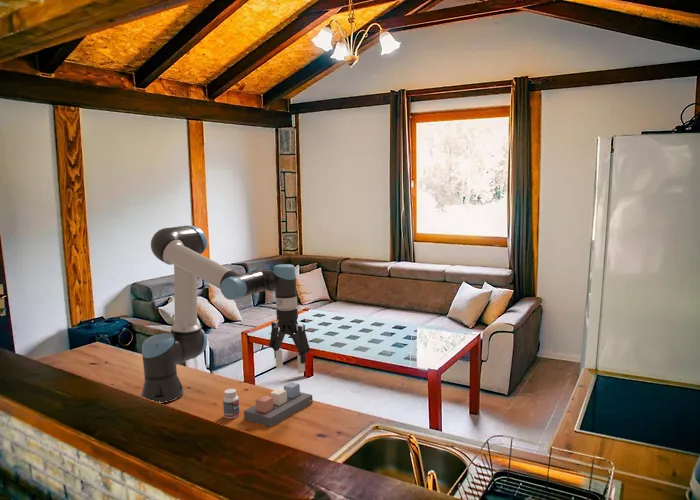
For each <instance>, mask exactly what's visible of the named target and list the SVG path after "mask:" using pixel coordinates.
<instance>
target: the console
mask: <svg viewBox="0 0 700 500" xmlns="http://www.w3.org/2000/svg"><path fill="white" fill-rule="evenodd" d="M310 400H311V401H310ZM313 403H314V402H313V395H312V394H310V393H305V392H302V391H300V395H299V396H297V397H295V398H293V399H292V398H288V397H287V402H286V403H284V404H282V405H280V406H278V405H274V404H273V410H271V411H269V412H267V413H262V412H258V411H257V410H256V404H254V405H253V406H250V407H248V408H247V409H245V410H243V418H244V420H246V421H248V422H252V423H255V424H259V425H262V426H265V427H269V428H271V427H274V426H275V425H277V424H279V423H280V422H282V421H284V420H285V419H287V418H289V417H291V416H292V415H294V414H296V413H298V412H300V411H301V410H303V409H305V408H306V407H309V406H310V405H311V404H313Z"/></svg>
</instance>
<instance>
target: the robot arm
mask: <svg viewBox="0 0 700 500" xmlns="http://www.w3.org/2000/svg"><path fill="white" fill-rule="evenodd" d="M207 247H208V240H207V237H206V234H205V232H203V230H202V229H201V228H200V227H198V226H196V225H180V226H174V227H164V228H161V229H159V230H157V231H156V232H155V233H154V234H153V236H152V237H151V241H150V249H151V252H152V254H153V255H154V256H155V257H156V259H158V260H159V261H161V262H162V263H164V264H166V265H169V266H171V265H173V279H174V280H173V281H174V283H173V284H174V285H173V286H174V287H173V289H174V291H173V292H174V303H173V304H174V305H173V306H174V323H173V324H172V325H171V326H170V332H168V333H167V332H165V333H159V334H154V335H152V336H149V337H148V338H146V339H144V341H143V342H142V345H141V355H142V356H141V357H142V362H143V363H142V364H143V375H144V381H143V382H144V383H143V387H142V390H141V391H142V392H141V394H140V396H142V397H145V398H147V399H150V400H154V401H157V402H159V401H160V402H165V401H170V400H173V399H175V398H177V397H179V396H181V395H182V394H183V395H184V386H183V384H182V383H181V381H180V380H181V379H179V377H178V369H177V365H180V364H182V363H185V362H187V361H190V360H193V359H196V358H197V357H199V356H201V355H202V354H203V353H204V351H206V349H207V346H208V337H207V334H205V333H206V332H205V331H204V329H202V325H201V324H200V323H198V278H199V279H201V280H202V281H205V282H207V283H209V284H210V285H212V286H214V287H216V288H218V289H220V292H221V294H222V295H223V297H224V298H225V299H227V300H230V301H231V300H239V299H242V298H245V297H247V296H250V295H255V294H258V293H261V292H274V295H275V308H276V312H275V313H276V314H275V315H276V320H275V321H273V322H271V332H270V339H269V346H268V347H269V348H270V349H272V350H273V352H274V353H273V354H274V356H273V357H274V359H275V368H276V369H278V370H279V369H281V368H283V367H284V364H283V363H284V362H283V349H282V343H283V341H284V339H285V336H286V335H287V336H289V337H290V338H291V339H292V341H293V343H294V346H295V347H296V349H297V352H298V354H297V369H298V373H299V374H301V373H304V372H305V371H306V365H305V364H306V362H307V358H306V357H307V356H306V355H307V354H308V353H310V352H311V348H310V344H309V341H308V338H307V334H306V325H305V324H299V322H298V319H299V312H298V311H299V310H298V308H297V307H298V297H297V274H296V267H295V266H294V265H293V264H290V263H287V264H285V263H283V264H282V263H281V264H275V265H274V266H273V269H258V268H257V269H250V270H248V271H247V273H242V274H241V273H238V272H236V271H234V270H232V269H230V268H228V267H226V266H225V265H222V264H220V263H218V262H216V261H215V260H212V259H211V258H208V257H207V256H205V255H204V254H203V253H204V252H205V251H206V249H207ZM202 254H203V255H202Z"/></svg>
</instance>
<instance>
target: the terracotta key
mask: <svg viewBox="0 0 700 500" xmlns="http://www.w3.org/2000/svg"><path fill="white" fill-rule="evenodd" d="M255 405H256V410H257V411H258V412H262V413H267V412H269V411H271V410H273V398H272V397H270V396H268V395H261V396H260V397H258V398H257V399H255Z"/></svg>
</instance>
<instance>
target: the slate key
mask: <svg viewBox="0 0 700 500" xmlns="http://www.w3.org/2000/svg"><path fill="white" fill-rule="evenodd" d="M300 389H301V386H300V383H295V382H293V381H292V382H291V381H290V382H289V383H286V384H285V385H283V390H286V391H287V397H288V398H292V399H293V398H295V397H297V396H299V395H300V392H301V390H300Z"/></svg>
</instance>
